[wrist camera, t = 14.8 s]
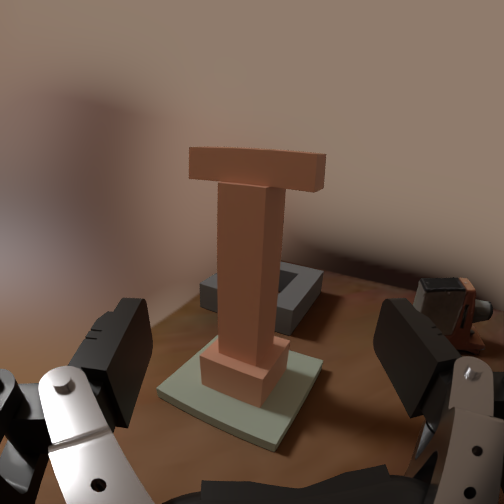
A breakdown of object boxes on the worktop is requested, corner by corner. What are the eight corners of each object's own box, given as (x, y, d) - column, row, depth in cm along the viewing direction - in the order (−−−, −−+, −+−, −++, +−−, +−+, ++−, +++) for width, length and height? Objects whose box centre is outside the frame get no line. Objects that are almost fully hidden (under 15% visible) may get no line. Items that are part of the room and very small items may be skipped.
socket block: (320, 292, 40) (323, 271, 39) (289, 335, 31) (292, 310, 30) (246, 273, 45) (247, 253, 43) (200, 306, 35) (199, 283, 34)
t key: (303, 374, 24) (331, 154, 18) (279, 415, 20) (308, 154, 14) (219, 345, 27) (219, 146, 21) (186, 377, 23) (173, 148, 17)
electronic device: (482, 357, 25) (506, 296, 23) (407, 351, 28) (427, 286, 25) (472, 335, 29) (491, 278, 27) (402, 329, 32) (418, 268, 29)
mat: (321, 368, 26) (323, 360, 26) (274, 452, 18) (276, 444, 17) (224, 337, 30) (224, 328, 30) (158, 396, 22) (156, 388, 21)
